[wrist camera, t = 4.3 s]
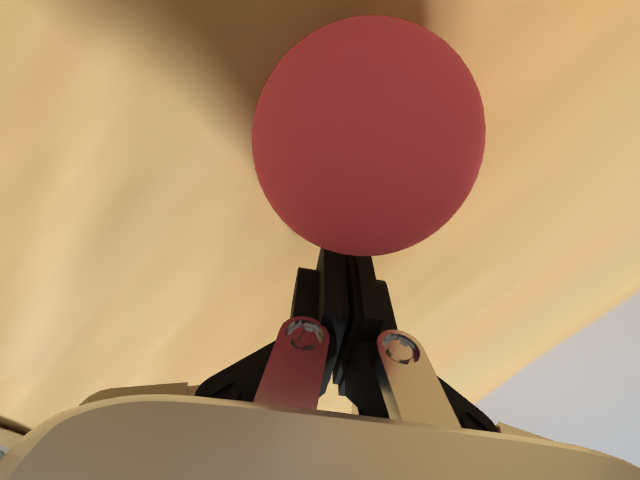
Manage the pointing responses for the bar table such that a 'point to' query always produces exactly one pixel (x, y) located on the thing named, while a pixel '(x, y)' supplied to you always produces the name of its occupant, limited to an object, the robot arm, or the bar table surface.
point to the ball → (368, 135)
